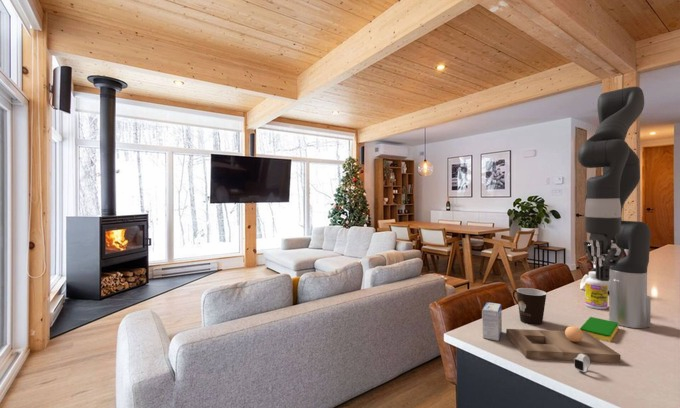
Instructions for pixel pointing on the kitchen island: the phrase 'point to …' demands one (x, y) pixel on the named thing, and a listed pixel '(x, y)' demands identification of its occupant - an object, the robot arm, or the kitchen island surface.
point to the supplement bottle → (596, 292)
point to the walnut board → (560, 346)
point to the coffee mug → (530, 305)
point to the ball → (574, 334)
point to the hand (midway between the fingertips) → (602, 279)
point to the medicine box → (492, 321)
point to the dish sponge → (600, 328)
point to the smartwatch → (582, 362)
